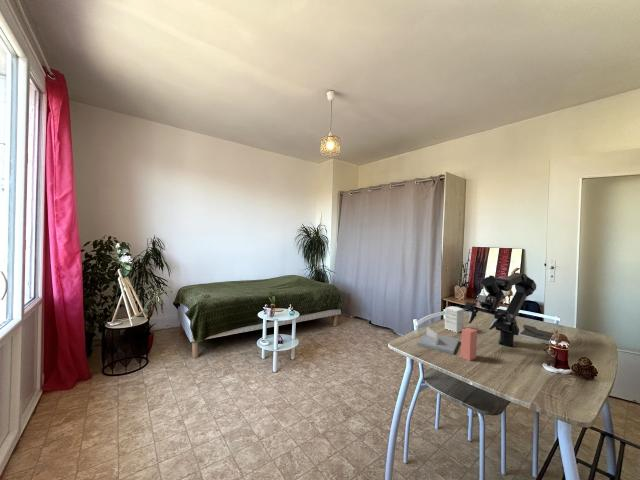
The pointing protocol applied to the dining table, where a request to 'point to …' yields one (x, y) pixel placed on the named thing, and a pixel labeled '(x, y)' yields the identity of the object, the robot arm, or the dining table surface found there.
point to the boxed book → (468, 343)
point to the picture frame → (535, 334)
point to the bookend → (432, 335)
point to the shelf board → (440, 343)
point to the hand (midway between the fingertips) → (479, 325)
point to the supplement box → (454, 318)
